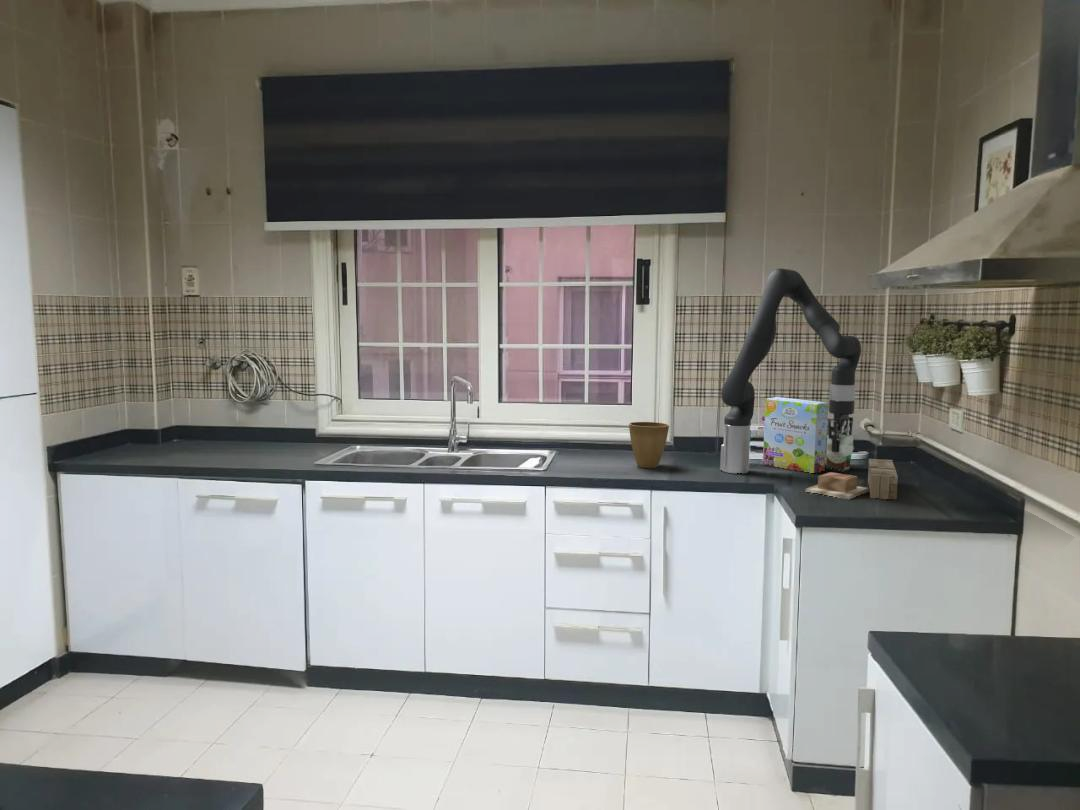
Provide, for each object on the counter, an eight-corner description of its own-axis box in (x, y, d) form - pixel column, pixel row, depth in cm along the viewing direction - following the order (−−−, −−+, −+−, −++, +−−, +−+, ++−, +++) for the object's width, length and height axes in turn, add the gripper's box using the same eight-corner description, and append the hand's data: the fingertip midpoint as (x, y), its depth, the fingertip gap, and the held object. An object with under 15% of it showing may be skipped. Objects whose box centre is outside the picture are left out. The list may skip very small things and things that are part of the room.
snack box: (760, 465, 297) (763, 398, 294) (773, 462, 303) (776, 396, 300) (813, 474, 281) (817, 403, 278) (826, 471, 287) (829, 401, 284)
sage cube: (826, 453, 252) (827, 435, 251) (834, 451, 256) (835, 433, 255) (844, 456, 248) (845, 437, 247) (852, 453, 252) (853, 435, 251)
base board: (805, 492, 252) (806, 475, 252) (826, 484, 264) (827, 469, 263) (848, 499, 243) (849, 482, 242) (868, 491, 254) (869, 475, 254)
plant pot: (668, 470, 285) (669, 427, 283) (626, 469, 287) (627, 426, 285) (667, 463, 299) (669, 421, 297) (628, 461, 302) (629, 420, 300)
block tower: (896, 504, 243) (892, 482, 270) (898, 477, 242) (893, 458, 269) (869, 501, 246) (867, 480, 273) (870, 475, 244) (868, 456, 271)
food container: (860, 471, 288) (862, 444, 287) (847, 472, 286) (848, 445, 284) (836, 465, 299) (837, 439, 298) (823, 466, 297) (824, 440, 296)
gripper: (839, 396, 258) (837, 446, 260) (820, 399, 247) (818, 452, 249) (862, 398, 253) (860, 449, 254) (844, 401, 242) (841, 455, 244)
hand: (839, 450), depth 252 cm, fingers closed on sage cube, 6 cm apart
